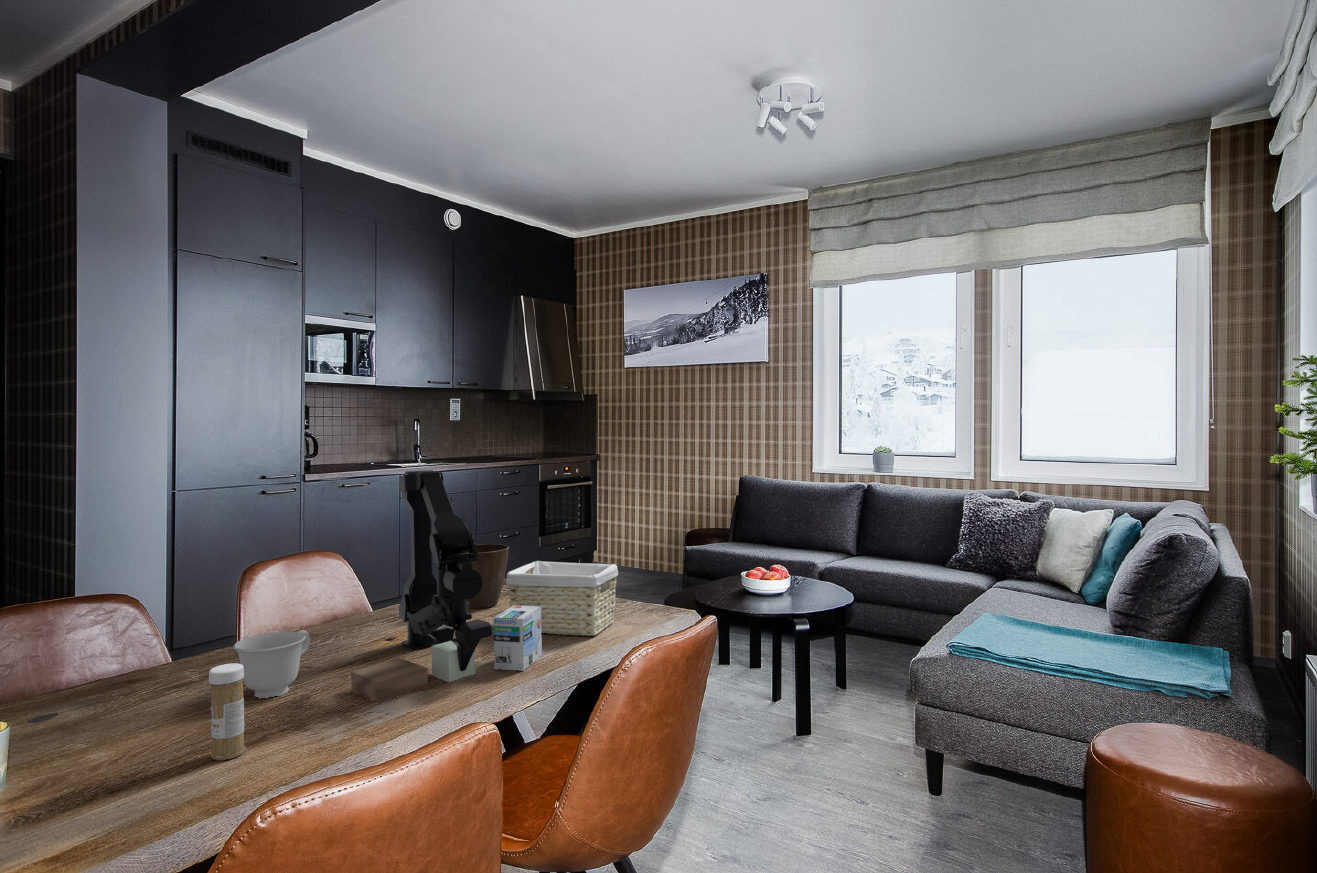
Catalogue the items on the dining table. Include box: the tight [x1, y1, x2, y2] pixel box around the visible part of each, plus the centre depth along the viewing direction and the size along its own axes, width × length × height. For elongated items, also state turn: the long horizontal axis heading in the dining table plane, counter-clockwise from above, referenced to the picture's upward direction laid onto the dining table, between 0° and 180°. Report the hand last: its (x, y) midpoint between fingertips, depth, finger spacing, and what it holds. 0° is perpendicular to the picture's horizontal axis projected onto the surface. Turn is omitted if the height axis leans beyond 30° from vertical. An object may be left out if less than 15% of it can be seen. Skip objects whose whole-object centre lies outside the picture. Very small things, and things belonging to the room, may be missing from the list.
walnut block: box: [350, 657, 429, 704], centre depth 138 cm, size 10×10×4 cm
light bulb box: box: [492, 605, 543, 672], centre depth 152 cm, size 11×7×11 cm, turn 168°
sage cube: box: [431, 641, 476, 683], centre depth 145 cm, size 6×6×6 cm
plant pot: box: [466, 543, 510, 609], centre depth 201 cm, size 15×15×16 cm
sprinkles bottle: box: [208, 662, 246, 761], centre depth 111 cm, size 5×5×14 cm
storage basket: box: [505, 560, 619, 637], centre depth 178 cm, size 24×16×15 cm
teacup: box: [232, 629, 311, 699], centre depth 138 cm, size 12×15×10 cm
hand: (453, 667), depth 145 cm, fingers closed on sage cube, 6 cm apart
